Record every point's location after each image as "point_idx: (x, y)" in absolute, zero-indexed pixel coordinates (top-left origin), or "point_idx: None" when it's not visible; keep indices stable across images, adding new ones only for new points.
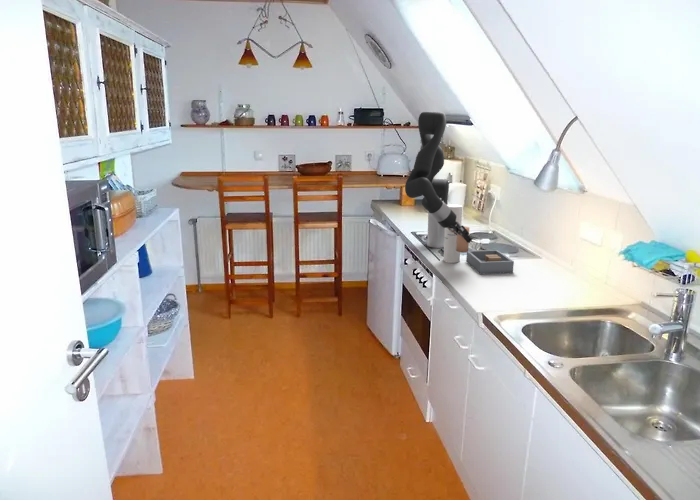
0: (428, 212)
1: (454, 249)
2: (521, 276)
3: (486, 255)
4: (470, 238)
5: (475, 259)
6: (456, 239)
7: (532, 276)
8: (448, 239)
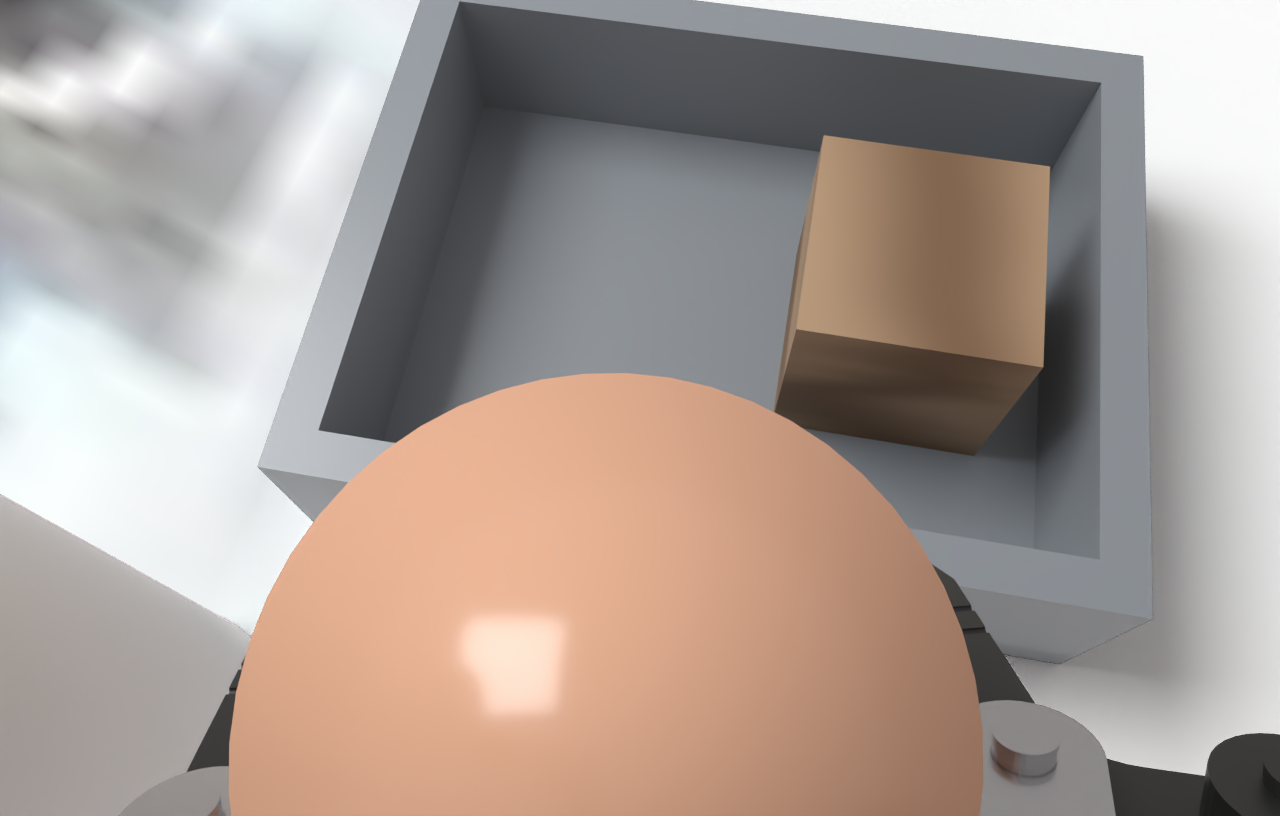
0: None
1: (167, 764)
2: (1231, 156)
3: (844, 325)
4: (964, 606)
5: None
6: (34, 678)
7: (1242, 44)
8: None
